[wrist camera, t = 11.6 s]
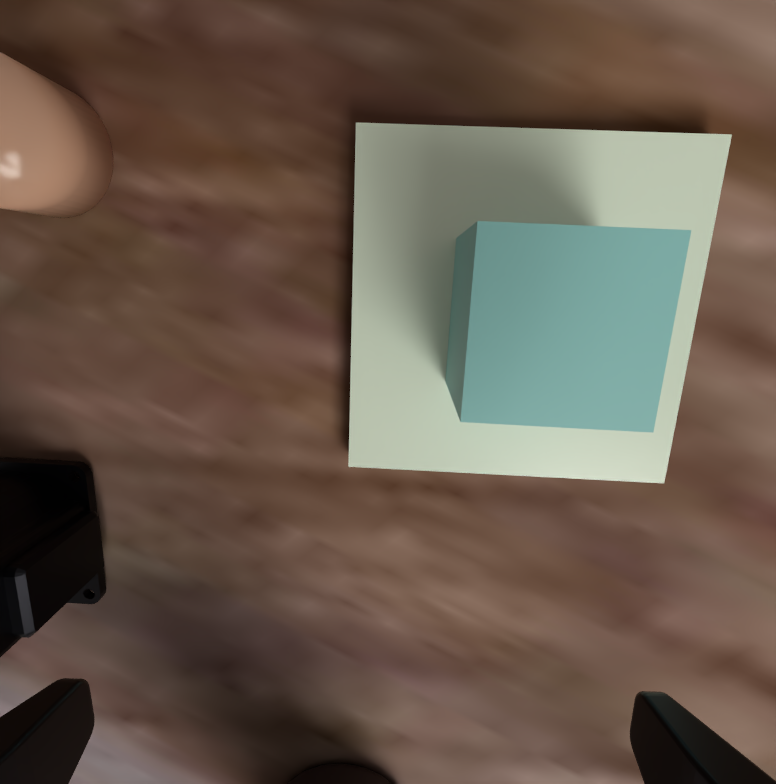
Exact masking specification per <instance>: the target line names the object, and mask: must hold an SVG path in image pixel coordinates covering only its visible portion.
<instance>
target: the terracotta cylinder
mask: <svg viewBox="0 0 776 784" xmlns="http://www.w3.org/2000/svg"><path fill="white" fill-rule="evenodd" d="M112 172H113V152H112V146H111V142H110V138H109V135H108V133H107V130H106V128H105V126H104V124H103V122H102V120H101V119H100V118H99V116H98V115H97V113H96V112H95V111H94V110H93V108H92V107H91V106H90V105H89V104H88V103H87V102H86V101H85V100H83V99H82V98H81V97H79V96H78V95H77V94H75V93H73V92H71V91H70V90H68V89H66V88H64V87H62V86H61V85H59V84H57V83H55V82H53V81H52V80H50V79H48V78H46V77H44V76H43V75H41V74H39V73H37V72H35V71H34V70H32V69H30V68H28V67H26V66H25V65H23V64H21V63H19V62H17V61H16V60H14V59H12V58H10V57H8V56H7V55H5V54H3V53H1V52H0V208H3V209H8V210H14V211H20V212H26V213H32V214H38V215H43V216H49V217H56V218H69V217H75V216H78V215H81V214H83V213H85V212H87V211H89V210H90V209H92V208H93V207H94V206H95V205H96V204H97V203H98V202H99V201H100V200H101V199H102V197H103V196H104V194H105V193H106V191H107V189H108V186H109V184H110V181H111V177H112Z"/></svg>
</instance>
